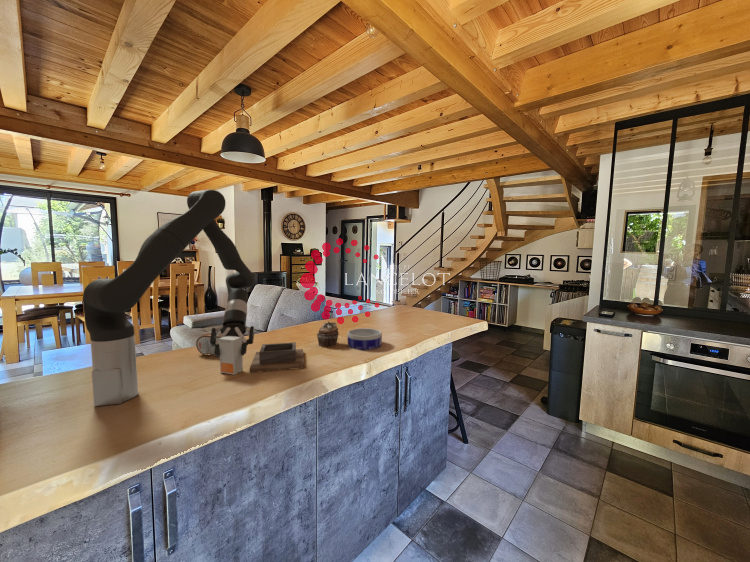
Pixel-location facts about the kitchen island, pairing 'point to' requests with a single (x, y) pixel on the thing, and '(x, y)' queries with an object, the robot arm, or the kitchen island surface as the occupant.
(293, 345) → the bottle holder
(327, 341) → the cupcake
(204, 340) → the tin
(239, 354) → the skincare box
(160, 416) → the kitchen island surface
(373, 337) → the dog bowl
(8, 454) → the kitchen island surface
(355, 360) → the kitchen island surface
